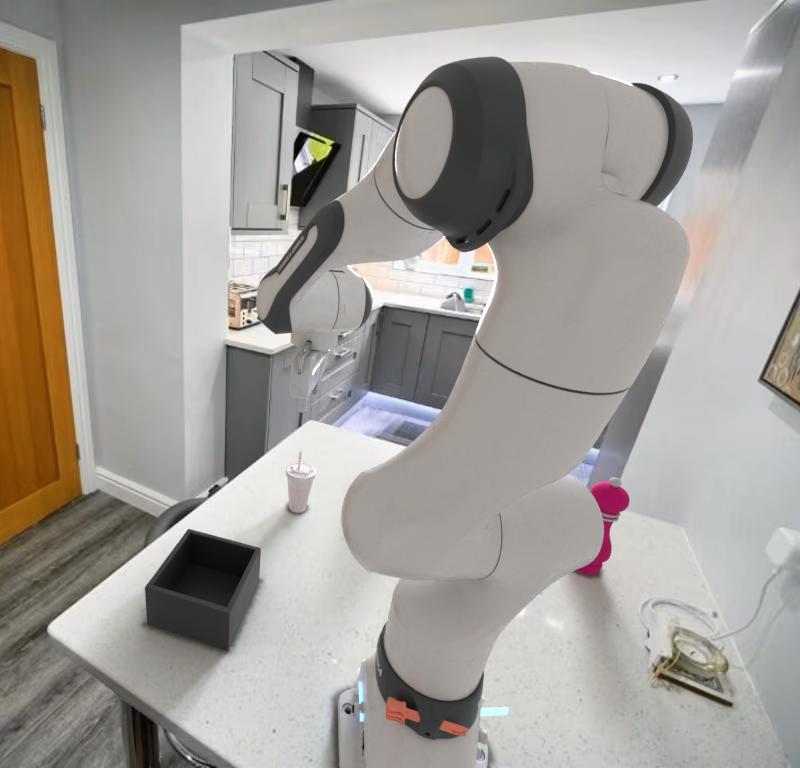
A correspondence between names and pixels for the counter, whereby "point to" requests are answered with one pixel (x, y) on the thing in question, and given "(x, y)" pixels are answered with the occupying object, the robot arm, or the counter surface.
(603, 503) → the pepper mill
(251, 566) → the basket
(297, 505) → the smoothie
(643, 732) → the counter surface
